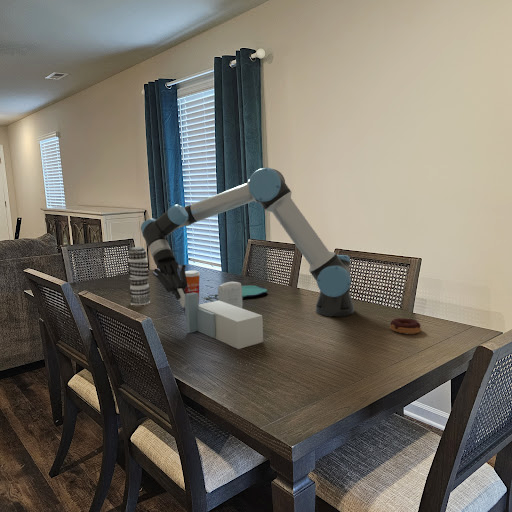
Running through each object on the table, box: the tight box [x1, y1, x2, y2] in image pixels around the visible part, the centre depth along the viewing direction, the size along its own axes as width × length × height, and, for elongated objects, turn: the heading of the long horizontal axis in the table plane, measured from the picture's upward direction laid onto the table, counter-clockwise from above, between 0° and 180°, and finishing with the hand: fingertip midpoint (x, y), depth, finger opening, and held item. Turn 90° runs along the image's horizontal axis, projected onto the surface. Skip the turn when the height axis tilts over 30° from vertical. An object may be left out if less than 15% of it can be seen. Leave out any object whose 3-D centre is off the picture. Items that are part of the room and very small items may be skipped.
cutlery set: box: [201, 285, 268, 302], centre depth 213 cm, size 20×30×2 cm, turn 123°
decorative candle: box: [126, 246, 151, 306], centre depth 200 cm, size 9×9×25 cm
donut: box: [389, 317, 422, 334], centre depth 158 cm, size 10×10×4 cm
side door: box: [184, 292, 216, 339], centre depth 156 cm, size 12×4×13 cm, turn 37°
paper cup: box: [185, 270, 201, 300], centre depth 200 cm, size 8×8×14 cm
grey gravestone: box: [217, 281, 243, 309], centre depth 185 cm, size 10×4×12 cm, turn 123°
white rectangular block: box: [199, 300, 264, 350], centre depth 156 cm, size 26×10×9 cm, turn 37°
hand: (185, 305), depth 163 cm, fingers closed
